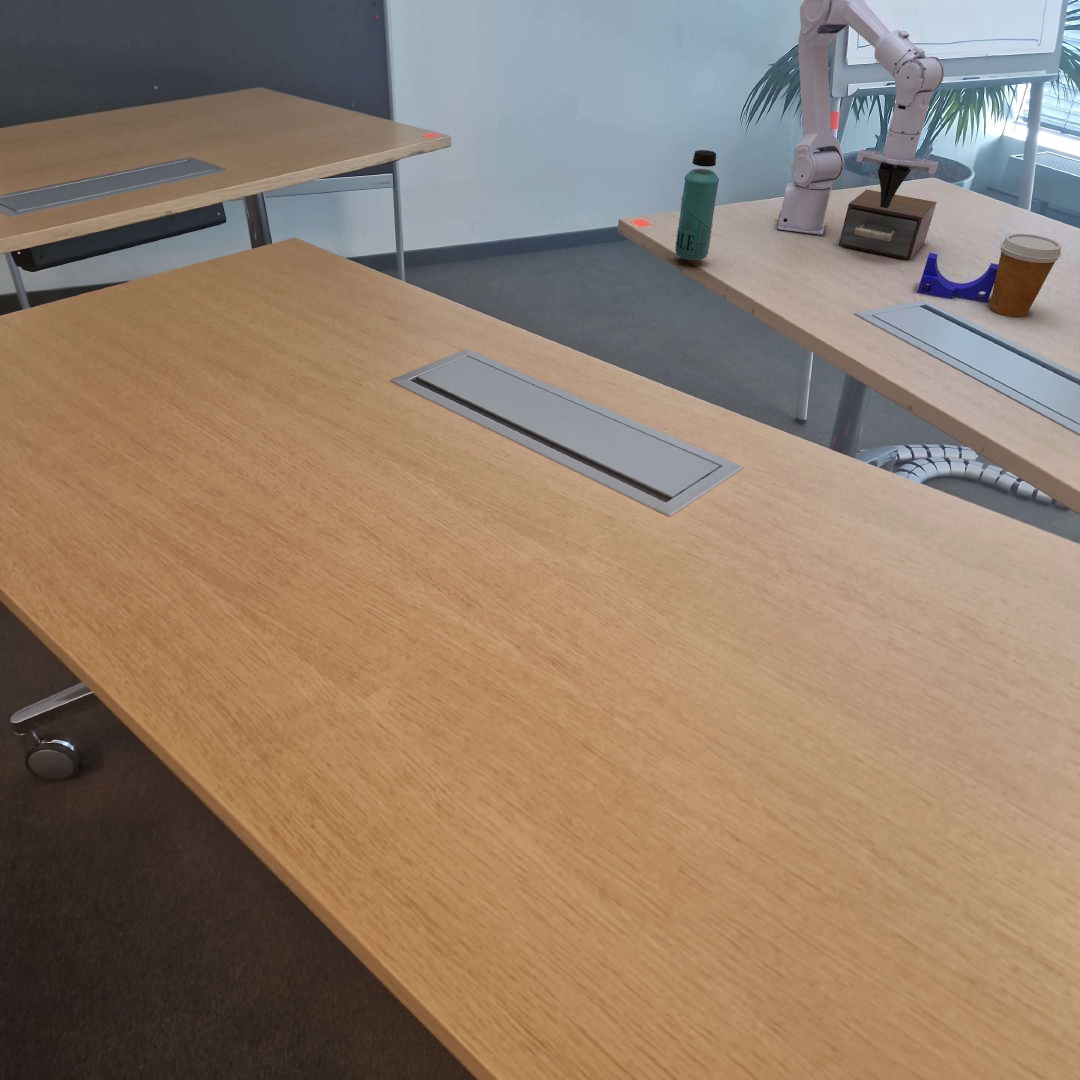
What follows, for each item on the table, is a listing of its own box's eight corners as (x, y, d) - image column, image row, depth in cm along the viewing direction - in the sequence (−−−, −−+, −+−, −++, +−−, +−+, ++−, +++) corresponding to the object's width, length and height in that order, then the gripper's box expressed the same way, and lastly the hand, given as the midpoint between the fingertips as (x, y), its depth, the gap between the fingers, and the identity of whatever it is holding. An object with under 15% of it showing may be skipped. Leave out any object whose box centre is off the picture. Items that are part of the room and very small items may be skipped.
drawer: (900, 263, 171) (910, 228, 167) (833, 249, 176) (842, 215, 172) (920, 241, 183) (930, 208, 179) (857, 228, 188) (865, 196, 184)
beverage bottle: (709, 259, 170) (727, 149, 158) (703, 270, 165) (720, 157, 153) (676, 254, 172) (691, 145, 160) (669, 265, 167) (684, 152, 155)
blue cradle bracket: (917, 292, 161) (927, 259, 157) (919, 284, 164) (929, 252, 160) (987, 305, 157) (998, 272, 153) (988, 297, 160) (999, 264, 156)
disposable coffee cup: (1033, 324, 150) (1060, 254, 143) (974, 311, 154) (998, 242, 147) (1040, 308, 157) (1067, 240, 150) (984, 295, 161) (1007, 229, 153)
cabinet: (909, 260, 175) (922, 217, 170) (838, 245, 181) (848, 203, 176) (924, 243, 184) (936, 202, 179) (856, 229, 190) (866, 189, 185)
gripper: (860, 128, 163) (842, 203, 172) (940, 141, 158) (918, 218, 166) (870, 122, 168) (852, 196, 176) (948, 134, 163) (926, 209, 171)
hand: (884, 206), depth 171 cm, fingers closed
